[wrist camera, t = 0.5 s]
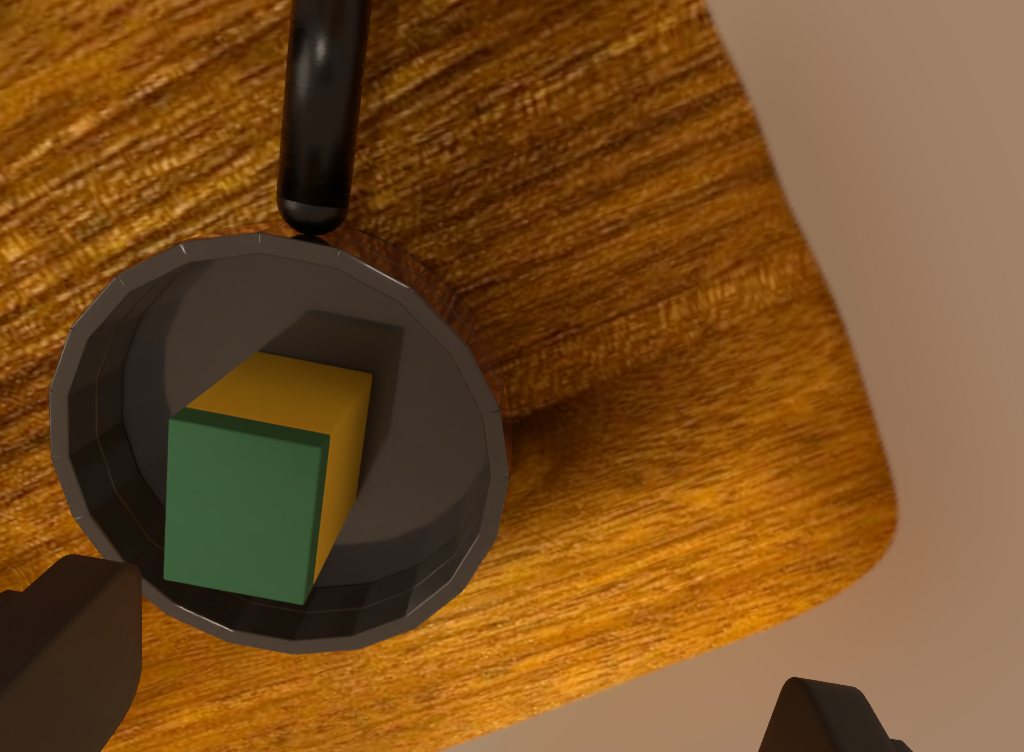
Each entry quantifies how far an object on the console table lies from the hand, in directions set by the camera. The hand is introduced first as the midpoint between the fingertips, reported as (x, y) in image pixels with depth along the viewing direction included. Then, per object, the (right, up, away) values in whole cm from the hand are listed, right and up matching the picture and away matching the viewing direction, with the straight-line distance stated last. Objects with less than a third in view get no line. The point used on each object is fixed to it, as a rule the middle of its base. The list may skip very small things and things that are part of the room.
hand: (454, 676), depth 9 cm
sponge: (-6, +2, +16) cm, 17 cm away
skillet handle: (-4, +13, +11) cm, 17 cm away
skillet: (-6, +2, +16) cm, 18 cm away
